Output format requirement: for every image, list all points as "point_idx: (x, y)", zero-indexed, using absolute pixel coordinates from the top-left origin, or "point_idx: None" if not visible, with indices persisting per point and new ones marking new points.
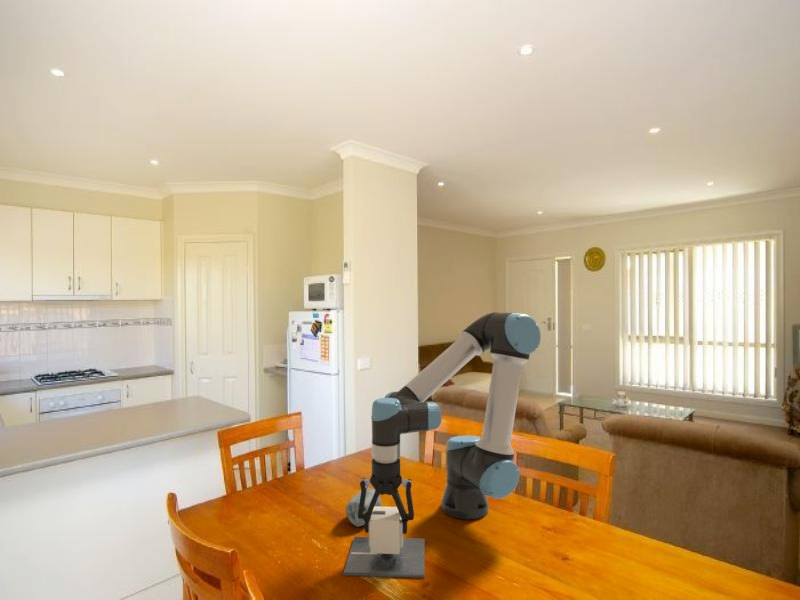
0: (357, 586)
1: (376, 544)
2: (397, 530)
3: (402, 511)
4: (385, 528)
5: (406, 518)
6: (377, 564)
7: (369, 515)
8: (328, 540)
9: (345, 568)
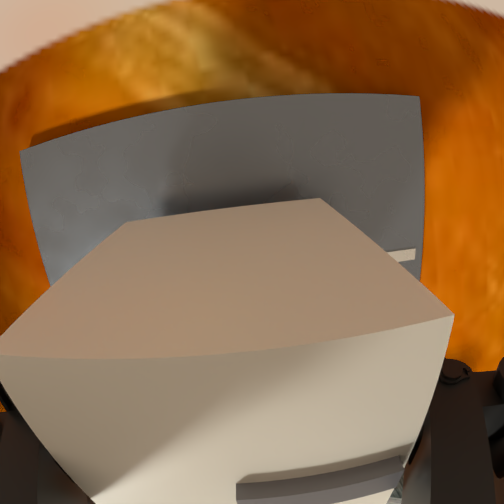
0: (326, 22)
1: (286, 215)
2: (59, 290)
3: (2, 480)
4: (188, 287)
5: (7, 420)
6: (262, 176)
7: (442, 416)
8: (483, 330)
9: (419, 126)
